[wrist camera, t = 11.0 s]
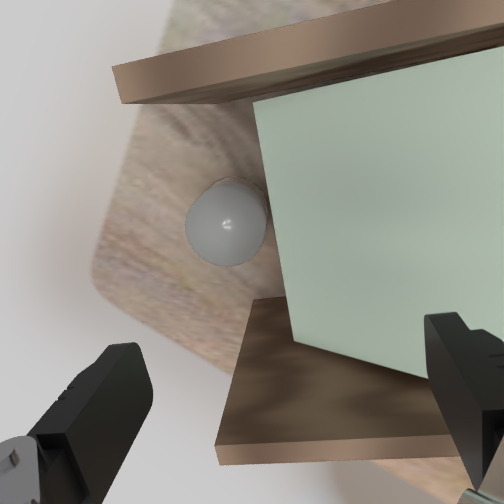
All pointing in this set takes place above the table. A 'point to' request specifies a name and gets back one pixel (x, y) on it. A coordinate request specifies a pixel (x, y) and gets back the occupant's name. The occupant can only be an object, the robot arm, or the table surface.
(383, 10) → the stand
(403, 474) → the table surface
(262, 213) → the smooth gray cylinder
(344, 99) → the trapdoor
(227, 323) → the table surface
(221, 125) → the table surface
